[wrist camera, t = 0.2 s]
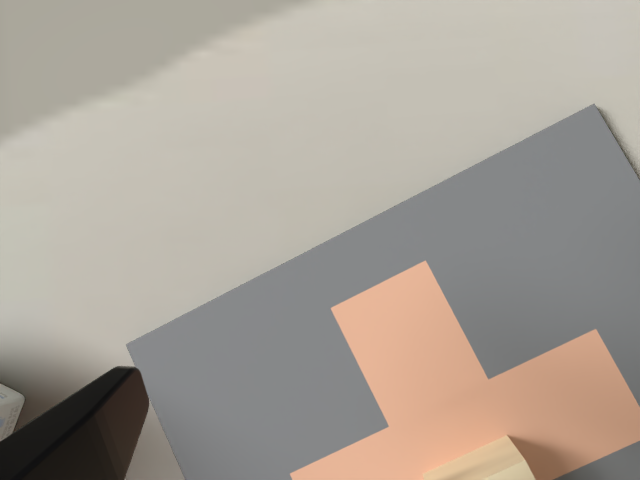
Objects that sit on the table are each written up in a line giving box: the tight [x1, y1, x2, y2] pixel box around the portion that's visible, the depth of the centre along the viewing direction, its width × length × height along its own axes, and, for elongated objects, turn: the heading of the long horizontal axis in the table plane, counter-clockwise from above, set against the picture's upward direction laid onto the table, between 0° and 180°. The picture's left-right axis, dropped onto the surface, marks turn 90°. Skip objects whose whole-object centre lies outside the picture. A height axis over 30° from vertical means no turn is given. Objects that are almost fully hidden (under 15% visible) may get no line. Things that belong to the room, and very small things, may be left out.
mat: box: [126, 104, 640, 480], centre depth 23 cm, size 24×24×1 cm
